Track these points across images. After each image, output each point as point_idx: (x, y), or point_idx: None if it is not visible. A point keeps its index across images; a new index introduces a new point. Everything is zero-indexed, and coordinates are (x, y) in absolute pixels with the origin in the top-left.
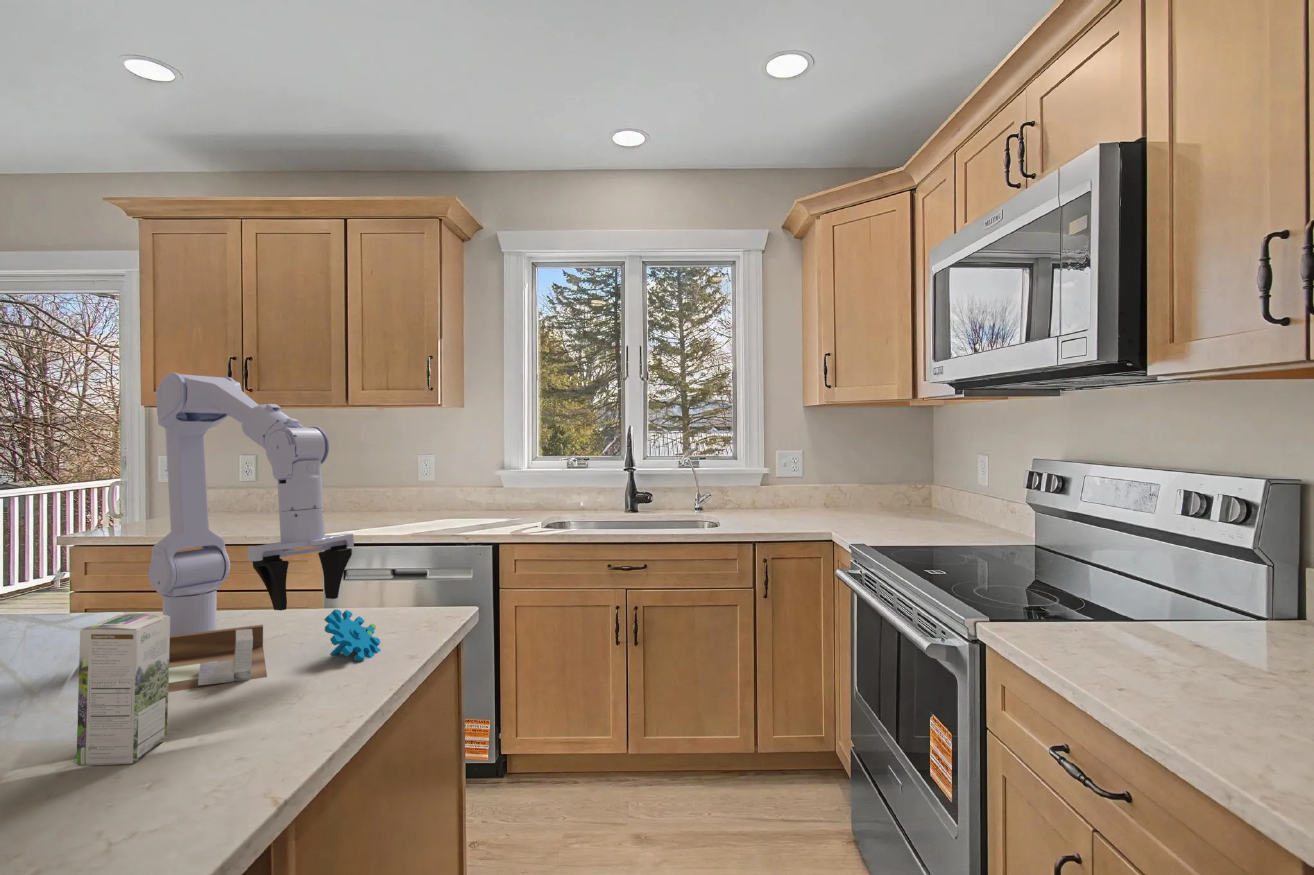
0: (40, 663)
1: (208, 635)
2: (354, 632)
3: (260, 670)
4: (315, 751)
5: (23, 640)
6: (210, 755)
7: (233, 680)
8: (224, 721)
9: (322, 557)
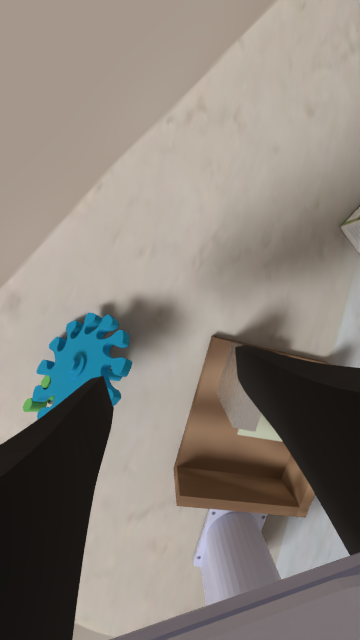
0: (341, 542)
1: (244, 498)
2: (77, 363)
3: (211, 368)
4: (252, 54)
5: None
6: (325, 150)
7: None
8: (285, 240)
9: (62, 611)
